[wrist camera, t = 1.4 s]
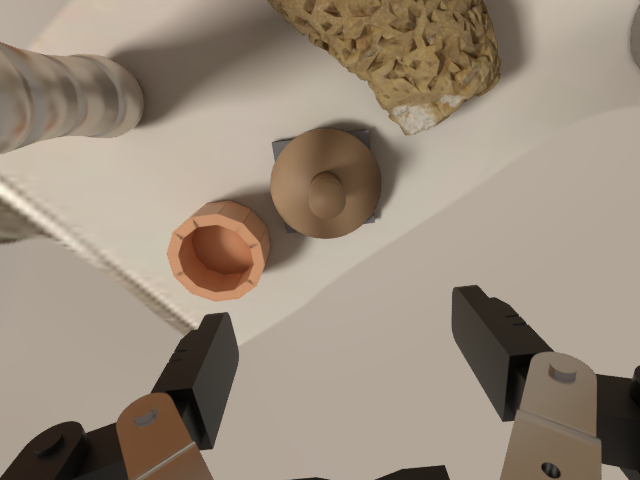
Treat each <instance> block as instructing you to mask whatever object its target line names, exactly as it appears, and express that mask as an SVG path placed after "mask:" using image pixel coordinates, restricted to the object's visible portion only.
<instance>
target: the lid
mask: <svg viewBox="0 0 640 480" xmlns="http://www.w3.org/2000/svg"><path fill="white" fill-rule="evenodd" d="M270 187H271V195H272V199H273V202H274V205H275V207H276V209H277V211H278V213H279V214H280V216H281V217H282V218H283V220H284V221H285V222H286V223H287V224H288V225H290V226H291V227H292V228H293V229H295V230H296V231H298V232H300V233H302V234H304V235H307V236H310V237H314V238H322V239H329V238H337V237H341V236H344V235H347V234H349V233H351V232H353V231H354V230H356V229H358V228H359V227H360V226H361V225H363V224H364V223H365V222H366V221H367V220H368V218H369V217H370V216H371V215H372V213H373V211H374V210H375V208H376V205H377V203H378V200H379V197H380V192H381V175H380V170H379V167H378V164H377V162H376V159H375V158H374V156H373V154H372V153H371V151H370V150H369V149H368V148H367V147H366V146H365V145H364V144H363V143H362V142H361V141H360V140H359V139H357V138H356V137H354V136H353V135H351V134H349V133H347V132H344V131H341V130H337V129H329V128H323V129H315V130H311V131H308V132H305V133H303V134H301V135H299V136H297V137H296V138H295V139H293V140H292V141H291V142H290V143H288V144H287V145H286V147H285V148H284V149H283V150H282V151H281V153H280V155H279V156H278V158H277V160H276V162H275V164H274V167H273V170H272V174H271V186H270Z"/></svg>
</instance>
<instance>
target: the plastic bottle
mask: <svg viewBox="0 0 640 480" xmlns="http://www.w3.org/2000/svg"><path fill="white" fill-rule="evenodd" d="M143 111H144V98H143V94H142V90H141V88H140V86H139V84H138V82H137V80H136V79H135V78H134V76H133V75H132V74H131V73H130V72H129V71H128V70H127V69H125V68H124V67H122V66H121V65H119V64H117V63H116V62H114V61H112V60H110V59H107V58H105V57H102V56H98V55H89V54H78V55H71V56H54V55H43V54H39V53H35V52H31V51H27V50H23V49H19V48H15V47H12V46H10V45H7V44H4V43H1V42H0V154H4V153H7V152H9V151H12V150H15V149H18V148H21V147H24V146H27V145H30V144H32V143H35V142H38V141H43V140H48V139H52V138H57V137H62V136H87V137H92V138H113V137H117V136H120V135H123V134H124V133H126V132H128V131H130V130H131V129H133V128H134V127H135V126H136V125H137V124H138V123H139V121H140V119H141V117H142V114H143Z"/></svg>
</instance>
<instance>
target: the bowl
mask: <svg viewBox="0 0 640 480" xmlns="http://www.w3.org/2000/svg"><path fill="white" fill-rule="evenodd" d="M270 248H271V246H270V241H269V236H268V230H267V226H266V225H265V224H264V223H263V222H262V220H261V219H260V218H259V217H258V216H257V215H256V214H255V212H254V211H253V210H251V209H250V208H247V207H245V206H242V205H240V204H237V203H235V202H232V201H222V202H213V203H207V204H205V205H204V206H203V207H202V208H200V209H199V210H198V211H197V212H195V213H194V214H193V215H192V216H190V217H189V218H188V219H187V220H186V221H185V222H184V223H183V224H181V225H180V226H179V227H178V228H177V229H176V230H175V231H174V232H173V234H172V237H171V241H170V244H169V248H168V251H167V256H168V259H169V263H170V266H171V269H172V272H173V275H174V277H175V278H176V279H177V280H178V281H179V282H180V283H181V284H182V285H183V286H184V287H185V288H186V289H187V290H189V291H190V292H191V293H192V294H195V295H198V296H201V297H203V298H206V299H209V300H212V301H223V300H232V299H238V298H240V297H242V296H243V295H245V294H246V293H247V292H249V291H250V290H252V289H253V288H255V287H256V286H257V284H258V281H259V279H260V276H261V274H262V271H263V269H264V266H265V263H266V260H267V257H268V254H269V251H270Z"/></svg>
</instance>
